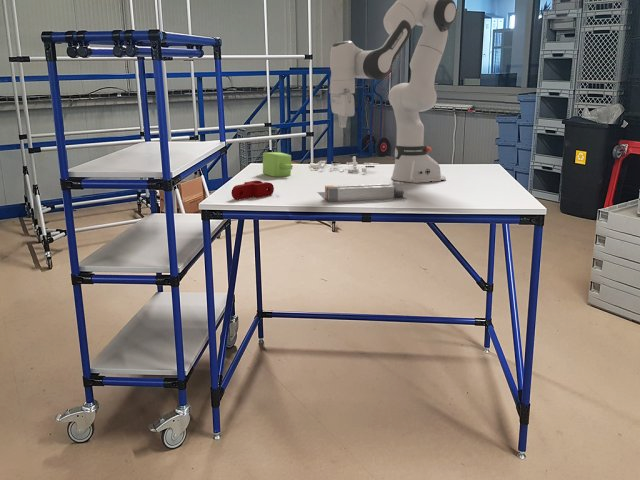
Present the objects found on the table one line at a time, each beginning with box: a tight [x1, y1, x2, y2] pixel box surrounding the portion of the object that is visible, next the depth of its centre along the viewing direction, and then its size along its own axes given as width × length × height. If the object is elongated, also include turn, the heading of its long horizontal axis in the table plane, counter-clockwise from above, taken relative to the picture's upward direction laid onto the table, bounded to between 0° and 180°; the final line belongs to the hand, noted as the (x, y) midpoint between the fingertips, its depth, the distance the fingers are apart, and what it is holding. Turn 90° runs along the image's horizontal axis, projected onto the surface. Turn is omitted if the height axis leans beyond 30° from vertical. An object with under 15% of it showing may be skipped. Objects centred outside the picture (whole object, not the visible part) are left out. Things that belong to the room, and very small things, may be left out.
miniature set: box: [309, 156, 379, 174], centre depth 267 cm, size 6×35×12 cm
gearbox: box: [262, 151, 294, 178], centre depth 254 cm, size 18×10×10 cm, turn 33°
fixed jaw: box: [327, 181, 405, 203], centre depth 201 cm, size 28×5×5 cm, turn 102°
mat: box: [316, 191, 407, 204], centre depth 207 cm, size 28×18×1 cm, turn 102°
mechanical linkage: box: [231, 179, 275, 201], centre depth 210 cm, size 16×7×5 cm, turn 137°
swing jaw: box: [324, 183, 391, 199], centre depth 203 cm, size 23×3×4 cm, turn 102°
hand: (342, 127), depth 213 cm, fingers closed
